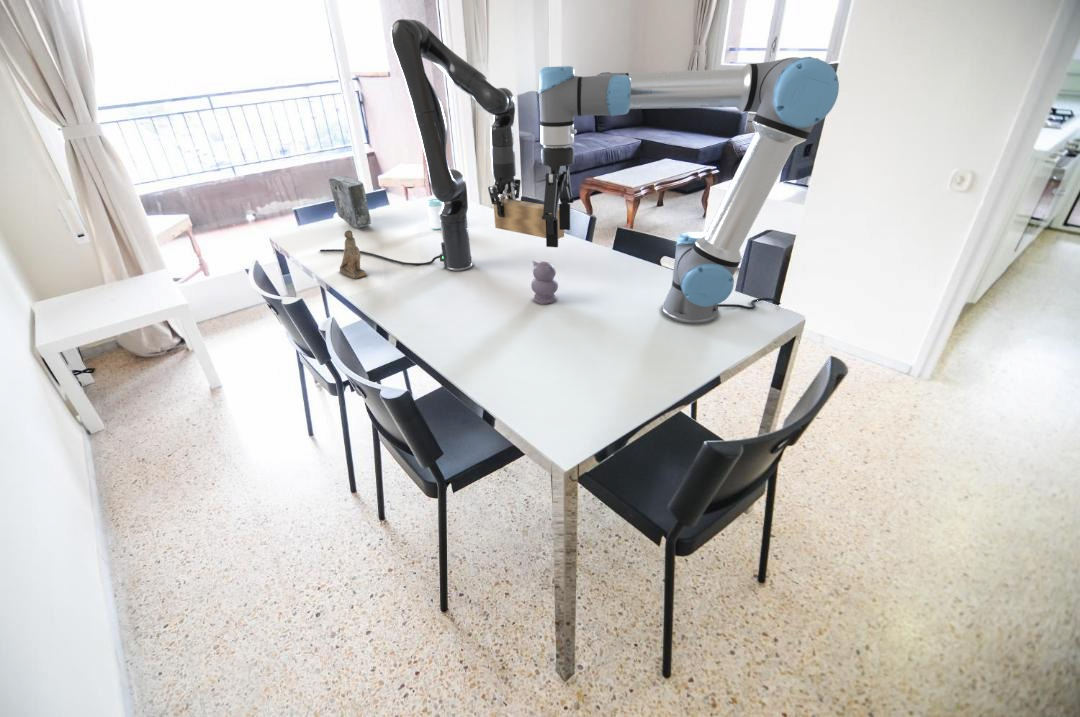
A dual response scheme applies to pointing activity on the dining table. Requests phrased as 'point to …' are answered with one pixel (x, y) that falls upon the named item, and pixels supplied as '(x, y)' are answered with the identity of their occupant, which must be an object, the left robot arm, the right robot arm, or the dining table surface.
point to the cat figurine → (544, 282)
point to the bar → (523, 218)
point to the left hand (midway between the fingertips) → (506, 214)
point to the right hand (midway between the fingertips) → (558, 237)
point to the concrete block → (350, 200)
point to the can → (434, 213)
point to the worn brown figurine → (351, 258)
